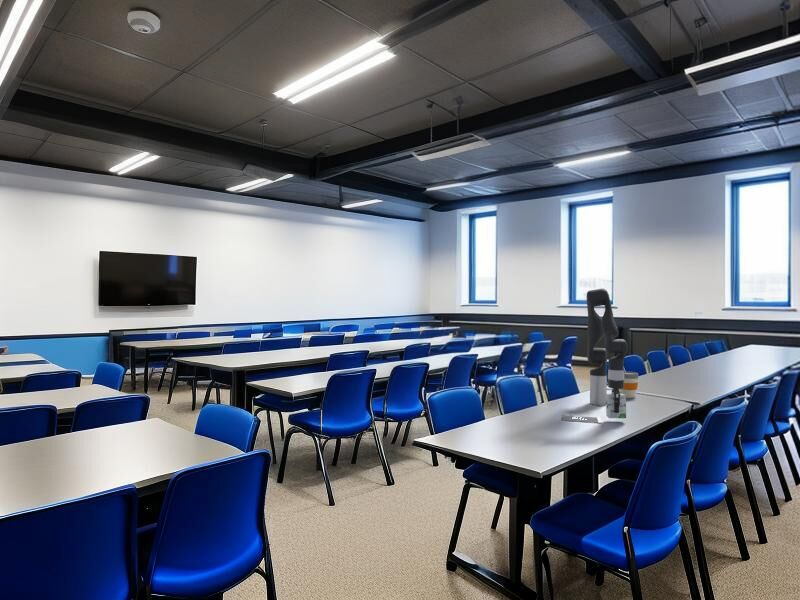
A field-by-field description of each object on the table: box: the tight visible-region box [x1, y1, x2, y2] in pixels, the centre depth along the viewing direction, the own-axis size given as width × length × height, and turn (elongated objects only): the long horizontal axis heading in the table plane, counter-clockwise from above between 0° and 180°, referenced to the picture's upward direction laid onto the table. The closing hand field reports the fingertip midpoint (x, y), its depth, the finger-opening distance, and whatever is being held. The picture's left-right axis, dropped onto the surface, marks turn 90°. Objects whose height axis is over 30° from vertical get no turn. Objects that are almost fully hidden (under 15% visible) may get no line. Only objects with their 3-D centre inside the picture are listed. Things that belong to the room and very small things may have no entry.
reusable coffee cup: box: [619, 370, 639, 399], centre depth 321 cm, size 12×13×15 cm
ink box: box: [605, 393, 627, 419], centre depth 257 cm, size 9×5×12 cm, turn 84°
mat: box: [561, 414, 603, 424], centre depth 262 cm, size 11×19×1 cm, turn 72°
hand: (615, 411), depth 257 cm, fingers closed on ink box, 5 cm apart
